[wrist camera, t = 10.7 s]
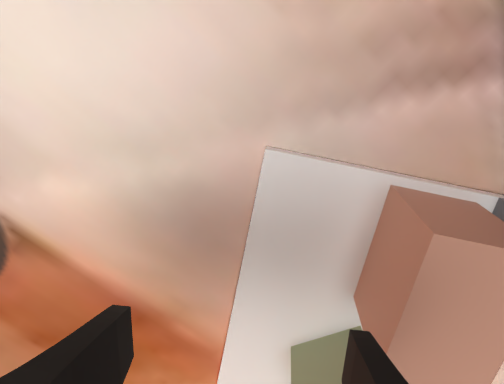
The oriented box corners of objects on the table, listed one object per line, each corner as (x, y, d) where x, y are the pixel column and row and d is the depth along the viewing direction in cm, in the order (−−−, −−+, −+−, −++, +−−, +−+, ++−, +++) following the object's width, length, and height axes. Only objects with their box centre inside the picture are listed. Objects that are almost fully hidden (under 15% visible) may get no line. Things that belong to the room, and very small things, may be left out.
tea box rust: (479, 203, 19) (561, 260, 13) (432, 313, 21) (485, 403, 16) (390, 184, 19) (433, 233, 13) (353, 296, 21) (376, 378, 16)
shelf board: (509, 196, 19) (539, 213, 17) (383, 474, 27) (392, 512, 24) (266, 145, 20) (263, 155, 18) (207, 434, 27) (199, 467, 25)
